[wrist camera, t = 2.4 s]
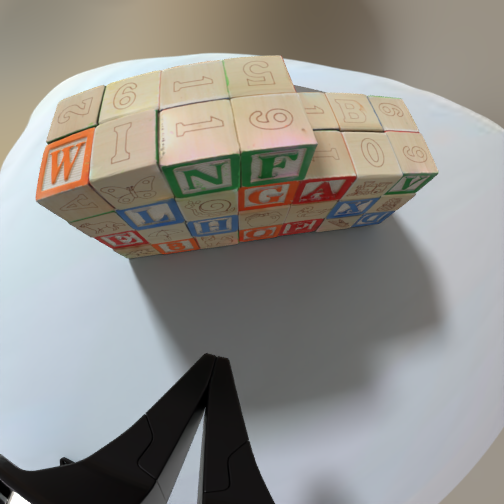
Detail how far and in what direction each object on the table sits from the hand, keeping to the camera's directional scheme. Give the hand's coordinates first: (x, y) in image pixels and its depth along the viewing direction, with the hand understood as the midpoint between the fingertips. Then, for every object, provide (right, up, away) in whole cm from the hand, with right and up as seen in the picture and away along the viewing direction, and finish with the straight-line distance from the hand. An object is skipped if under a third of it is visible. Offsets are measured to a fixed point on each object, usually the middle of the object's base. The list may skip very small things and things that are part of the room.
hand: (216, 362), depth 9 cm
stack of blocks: (+1, +8, +14) cm, 16 cm away
